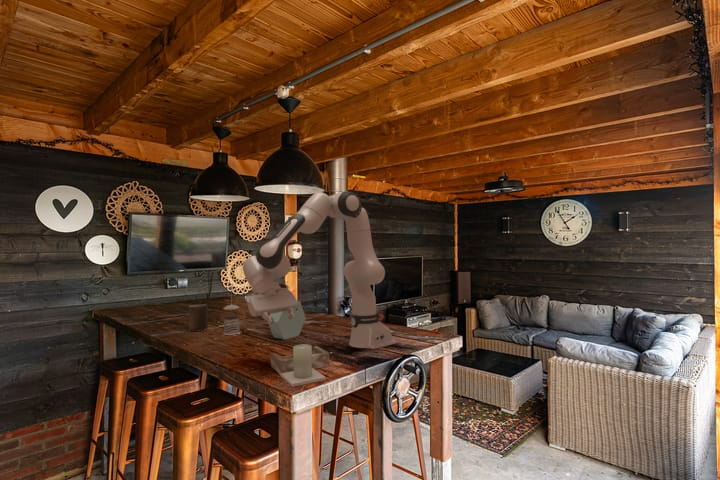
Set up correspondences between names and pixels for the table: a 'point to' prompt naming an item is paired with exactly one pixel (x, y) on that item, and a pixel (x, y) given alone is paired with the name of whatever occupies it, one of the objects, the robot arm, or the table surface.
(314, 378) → the concrete tile
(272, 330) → the grey-green faceted block
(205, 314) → the pillar candle
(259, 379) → the table surface
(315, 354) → the frame
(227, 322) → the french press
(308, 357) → the sage green rounded cylinder
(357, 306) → the robot arm
